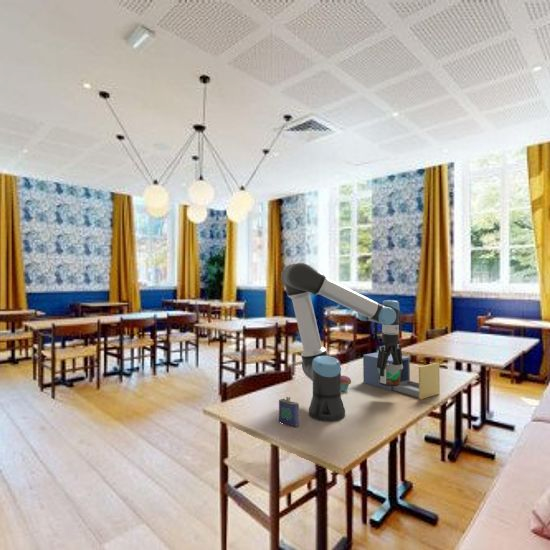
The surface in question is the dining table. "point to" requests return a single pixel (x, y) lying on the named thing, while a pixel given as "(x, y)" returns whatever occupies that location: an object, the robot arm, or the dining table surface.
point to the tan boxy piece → (422, 383)
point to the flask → (289, 412)
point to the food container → (392, 374)
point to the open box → (372, 371)
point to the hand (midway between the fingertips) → (389, 381)
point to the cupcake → (345, 382)
